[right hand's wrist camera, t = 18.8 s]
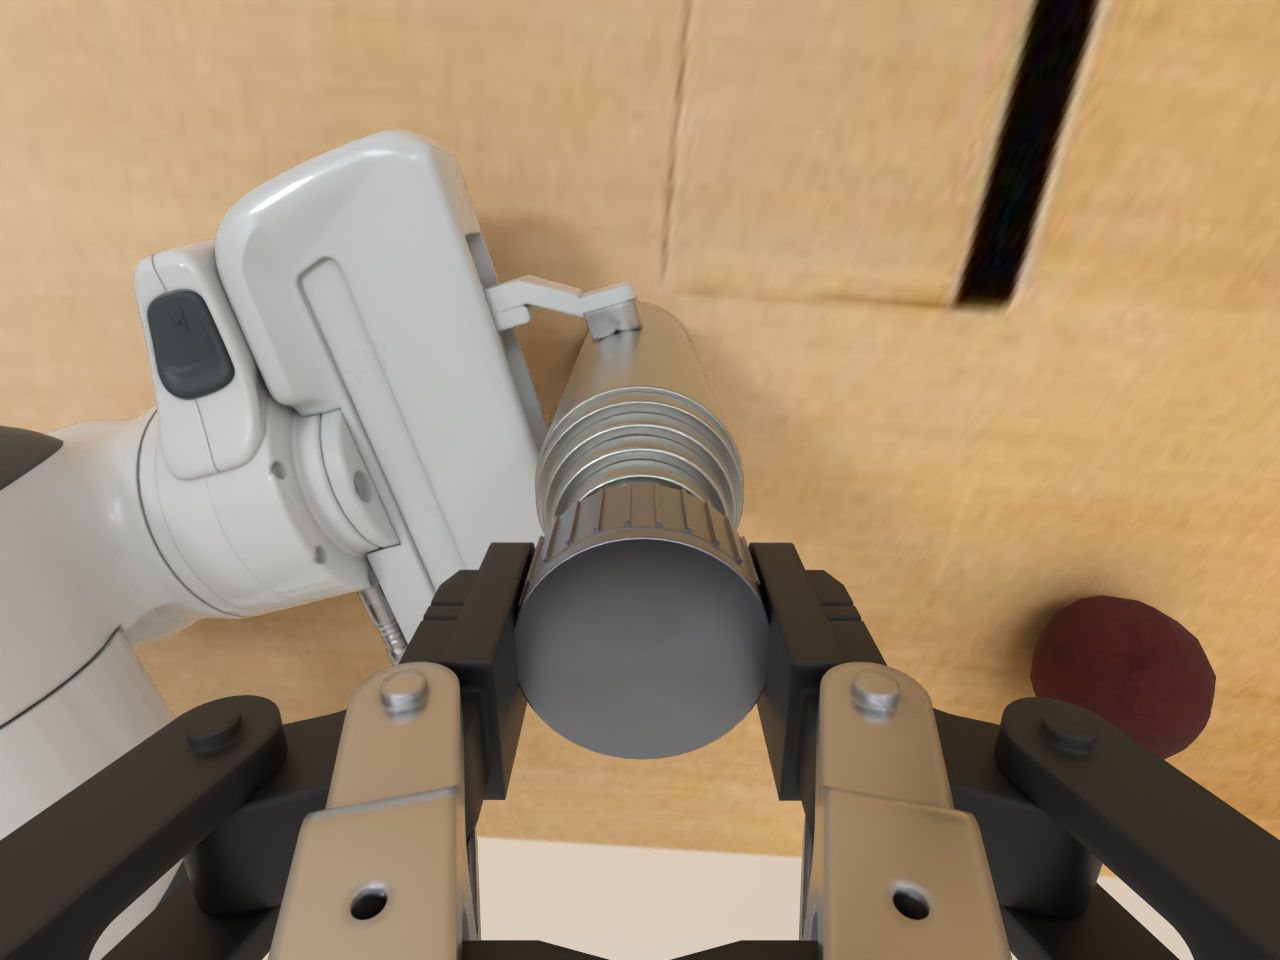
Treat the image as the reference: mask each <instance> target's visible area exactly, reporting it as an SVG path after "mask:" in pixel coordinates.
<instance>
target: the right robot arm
mask: <svg viewBox="0 0 1280 960" xmlns="http://www.w3.org/2000/svg"><path fill="white" fill-rule="evenodd" d="M748 548H749V551H750V554H751V557H752V560H753V563H754V566H755V569H756V572H757V575H758V578H759V581H760V585H758V586H759V589H760V592H761V595H762V598H763V601H764V604H765V607H766V610H767V613H768V617H769V620H770V629H769V642H768V655H767V668H766V681H765V688H764V690H763V692H762V694H761V696H760V698H759V699H758V701H757V702H756V703H757V707H758V711H759V716H760V720H761V724H762V728H763V733H764V737H765V741H766V746H767V750H768V754H769V758H770V763H771V767H772V771H773V775H774V780H775V784H776V788H777V792H778V797H779V801H802V804H803V808H804V811H805V824H804V832H803V841H802V869H801V896H800V924H799V940H742V941H738V942H734V943H730V944H727V945H723V946H719V947H716V948H712V949H708V950H705V951H701V952H697V953H694V954H690V955H687V956H683V957H679V958H675V959H672V960H1012V957H1011V953H1010V951H1011V952H1012V953H1013V955H1014V956H1015V957H1016V958H1017V959H1018V960H1179V959H1178V958H1177V957H1176V956H1175V955H1174V954H1173V953H1172V952H1171V951H1170V950H1169V949H1168V948H1166V947H1165V946H1164V945H1163V944H1162V943H1161V942H1160V941H1159V940H1158V939H1157V938H1156V937H1155V936H1154V935H1152V934H1151V933H1150V932H1149V931H1148V930H1147V929H1146V928H1145V927H1144V926H1143V925H1142V924H1141V923H1140V922H1138V921H1137V920H1136V919H1135V918H1134V917H1133V916H1132V915H1131V914H1130V913H1129V912H1128V911H1127V910H1126V909H1124V908H1123V907H1122V906H1121V905H1120V904H1119V903H1118V902H1117V901H1116V900H1115V899H1114V898H1113V897H1112V896H1110V895H1109V894H1108V893H1107V892H1106V891H1105V890H1104V889H1103V888H1102V887H1101V886H1100V885H1099V884H1097V883H1096V881H1097V878H1098V875H1099V872H1100V869H1101V866H1102V863H1103V864H1104V865H1105V866H1107V867H1108V868H1109V869H1110V870H1111V871H1112V872H1113V873H1114V874H1116V875H1117V876H1118V877H1119V878H1120V879H1121V880H1122V881H1123V882H1124V883H1126V884H1127V885H1128V886H1129V887H1130V888H1131V889H1132V890H1133V891H1135V892H1136V893H1137V894H1138V895H1139V896H1140V897H1141V898H1142V899H1143V900H1145V901H1146V902H1147V903H1148V904H1149V905H1150V906H1151V907H1152V908H1154V909H1155V910H1156V911H1157V912H1158V913H1159V914H1160V915H1161V916H1163V917H1164V918H1165V919H1166V920H1167V921H1168V922H1169V923H1170V924H1171V925H1172V926H1173V927H1174V928H1175V929H1176V930H1177V932H1178V933H1179V934H1180V935H1181V937H1182V938H1183V939H1184V941H1185V942H1186V944H1187V946H1188V947H1189V949H1190V951H1191V953H1192V955H1193V958H1194V960H1280V840H1278V839H1277V838H1276V837H1274V836H1273V835H1271V834H1270V833H1268V832H1267V831H1265V830H1264V829H1263V828H1261V827H1260V826H1258V825H1257V824H1255V823H1254V822H1253V821H1251V820H1250V819H1248V818H1247V817H1245V816H1244V815H1242V814H1241V813H1240V812H1238V811H1237V810H1235V809H1234V808H1232V807H1231V806H1230V805H1228V804H1227V803H1225V802H1224V801H1222V800H1221V799H1219V798H1218V797H1217V796H1215V795H1214V794H1212V793H1211V792H1209V791H1208V790H1206V789H1205V788H1204V787H1202V786H1201V785H1199V784H1198V783H1196V782H1195V781H1194V780H1192V779H1191V778H1189V777H1188V776H1186V775H1185V774H1183V773H1182V772H1181V771H1179V770H1178V769H1176V768H1175V767H1173V766H1172V765H1170V764H1169V763H1168V762H1166V761H1165V760H1163V759H1162V758H1160V757H1159V756H1158V755H1156V754H1155V753H1153V752H1152V751H1150V750H1149V749H1147V748H1146V747H1145V746H1143V745H1142V744H1140V743H1139V742H1137V741H1136V740H1135V739H1133V738H1132V737H1130V736H1129V735H1127V734H1126V733H1124V732H1123V731H1122V730H1120V729H1119V728H1117V727H1116V726H1114V725H1113V724H1111V723H1110V722H1109V721H1107V720H1105V719H1104V718H1102V717H1101V716H1099V715H1097V714H1095V713H1093V712H1091V711H1089V710H1087V709H1085V708H1083V707H1080V706H1078V705H1075V704H1072V703H1069V702H1065V701H1061V700H1057V699H1051V698H1044V697H1029V698H1023V699H1018V700H1016V701H1013V702H1012V703H1010V704H1009V705H1008V706H1007V707H1006V708H1005V709H1004V712H1003V715H1002V719H1001V724H1000V725H997V724H993V723H988V722H983V721H979V720H974V719H969V718H965V717H960V716H956V715H952V714H948V713H945V712H942V711H940V710H937V709H935V708H933V706H932V702H931V699H930V696H929V695H928V693H927V692H926V690H925V689H924V688H923V687H922V686H921V685H920V684H919V683H918V682H917V681H916V680H914V679H913V678H911V677H910V676H908V675H907V674H905V673H903V672H901V671H899V670H896V669H894V668H891V667H888V666H887V664H886V663H885V661H884V659H883V657H882V655H881V653H880V651H879V650H878V648H877V646H876V644H875V642H874V640H873V639H872V637H871V635H870V633H869V631H868V629H867V627H866V626H865V624H864V622H863V621H861V616H860V614H859V613H858V611H857V609H856V607H855V606H853V602H852V600H851V598H850V596H849V594H848V592H847V590H846V589H845V587H844V585H843V584H841V583H840V582H839V581H837V580H836V579H835V578H833V577H832V576H831V575H829V574H828V573H827V572H825V571H824V570H805V568H804V566H803V564H802V562H801V560H800V557H799V555H798V553H797V551H796V549H795V547H794V545H793V543H750V544H749V547H748ZM534 552H535V545H534V543H533V542H492V543H491V544H490V545H489V548H488V550H487V552H486V554H485V557H484V559H483V561H482V563H481V566H480V568H479V570H459V571H458V572H456V573H455V574H454V575H452V576H451V577H450V578H449V579H447V580H446V581H445V582H443V583H442V584H441V585H440V586H439V588H438V590H437V592H436V594H435V595H434V597H433V599H432V601H431V606H429V607H428V609H427V611H426V612H425V614H424V616H423V621H421V622H420V624H419V626H418V627H417V629H416V631H415V633H414V635H413V637H412V639H411V641H410V643H409V644H408V646H407V648H406V650H405V652H404V654H403V656H402V658H401V660H400V661H399V663H398V665H395V666H392V667H389V668H386V669H384V670H381V671H379V672H377V673H375V674H373V675H372V676H370V677H369V678H367V679H366V680H364V681H363V682H362V683H361V684H360V685H359V686H358V687H357V688H356V689H355V690H354V692H353V693H352V695H351V696H350V699H349V702H348V706H347V709H346V710H343V711H341V712H338V713H334V714H330V715H326V716H321V717H317V718H312V719H308V720H303V721H298V722H294V723H289V724H284V725H283V724H282V720H281V716H280V712H279V709H278V707H277V706H276V704H275V703H273V702H272V701H271V700H269V699H266V698H264V697H259V696H251V695H242V696H232V697H226V698H222V699H218V700H214V701H211V702H208V703H205V704H203V705H200V706H198V707H196V708H193V709H191V710H190V711H188V712H186V713H184V714H182V715H181V716H179V717H177V718H176V719H174V720H173V721H171V722H170V723H169V724H167V725H166V726H164V727H163V728H161V729H160V730H158V731H157V732H156V733H154V734H153V735H151V736H150V737H148V738H147V739H146V740H144V741H143V742H141V743H140V744H138V745H137V746H135V747H134V748H133V749H131V750H130V751H128V752H127V753H125V754H124V755H122V756H121V757H120V758H118V759H117V760H115V761H114V762H112V763H111V764H110V765H108V766H107V767H105V768H104V769H102V770H101V771H99V772H98V773H97V774H95V775H94V776H92V777H91V778H89V779H88V780H86V781H85V782H84V783H82V784H81V785H79V786H78V787H76V788H75V789H74V790H72V791H71V792H69V793H68V794H66V795H65V796H63V797H62V798H61V799H59V800H58V801H56V802H55V803H53V804H52V805H51V806H49V807H48V808H46V809H45V810H43V811H42V812H40V813H39V814H38V815H36V816H35V817H33V818H32V819H30V820H29V821H27V822H26V823H25V824H23V825H22V826H20V827H19V828H17V829H16V830H15V831H13V832H12V833H10V834H9V835H7V836H6V837H4V838H3V839H2V840H0V960H89V958H90V955H91V952H92V950H93V948H94V946H95V944H96V942H97V941H98V939H99V937H100V936H101V934H102V933H103V932H104V930H105V929H106V928H107V927H108V926H109V924H110V923H111V922H112V921H113V920H114V919H115V918H116V917H118V916H119V915H120V914H121V913H122V912H123V911H124V910H125V909H126V908H128V907H129V906H130V905H131V904H132V903H133V902H134V901H135V900H137V899H138V898H139V897H140V896H141V895H142V894H143V893H144V892H145V891H147V890H148V889H149V888H150V887H151V886H152V885H153V884H154V883H156V882H157V881H158V880H159V879H160V878H161V877H162V876H163V875H164V874H166V873H167V872H168V871H169V870H170V869H171V868H172V867H173V866H175V865H176V864H177V863H178V862H179V861H180V860H181V859H182V858H183V861H184V864H185V867H186V871H187V874H188V877H189V878H188V879H187V880H186V881H185V882H184V883H182V884H181V885H180V886H179V887H178V888H177V889H176V890H175V891H174V892H173V893H172V894H171V895H170V896H168V897H167V898H166V899H165V900H164V901H163V902H162V903H161V904H160V905H159V906H158V907H157V908H156V909H154V910H153V911H152V912H151V913H150V914H149V915H148V916H147V917H146V918H145V919H144V920H143V921H142V922H140V923H139V924H138V925H137V926H136V927H135V928H134V929H133V930H132V931H131V932H130V933H129V934H128V935H126V936H125V937H124V938H123V939H122V940H121V941H120V942H119V943H118V944H117V945H116V946H115V947H114V948H112V949H111V950H110V951H109V952H108V953H107V954H106V955H105V956H104V957H103V958H102V959H101V960H262V959H263V958H264V957H265V956H266V954H267V953H268V952H269V951H270V952H269V956H268V960H608V959H604V958H601V957H597V956H594V955H590V954H586V953H583V952H579V951H575V950H571V949H568V948H564V947H561V946H557V945H553V944H549V943H546V942H542V941H539V940H481V925H480V897H479V870H478V842H477V833H476V824H477V821H478V818H479V814H480V810H481V806H482V803H483V800H505V798H506V794H507V789H508V785H509V780H510V776H511V772H512V767H513V763H514V758H515V754H516V750H517V745H518V741H519V736H520V732H521V728H522V723H523V719H524V714H525V710H526V705H527V700H526V698H525V697H524V695H523V693H522V691H521V688H520V686H519V682H518V670H517V657H516V643H515V629H514V623H515V620H516V616H517V613H518V610H519V602H520V599H521V596H522V593H523V590H524V586H525V581H526V578H527V575H528V571H529V568H530V565H531V562H532V559H533V555H534Z"/></svg>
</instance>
